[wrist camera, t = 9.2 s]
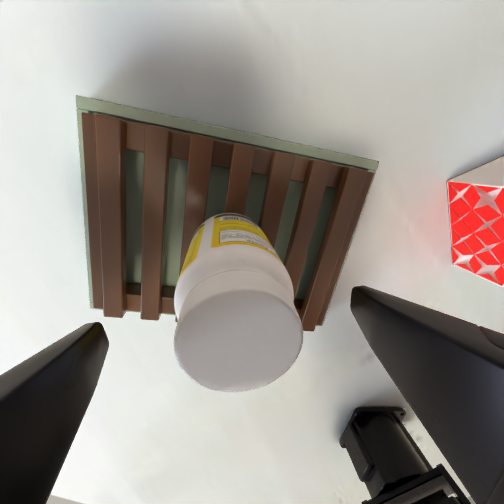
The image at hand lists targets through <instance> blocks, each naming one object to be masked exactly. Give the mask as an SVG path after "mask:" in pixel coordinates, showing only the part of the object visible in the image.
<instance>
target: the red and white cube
mask: <svg viewBox="0 0 504 504" xmlns="http://www.w3.org/2000/svg"><path fill="white" fill-rule="evenodd" d="M447 188H448V201H449V214H450V228H451V241H452V256H453V265H455V266H457V267H459V268H461V269H464V270H466V271H468V272H470V273H472V274H475V275H477V276H479V277H481V278H483V279H485V280H488V281H490V282H492V283H494V284H496V285H499V286H501V287H503V288H504V156H503V157H501V158H498V159H496V160H494V161H492V162H489V163H487V164H485V165H483V166H480V167H478V168H476V169H473V170H471V171H469V172H467V173H464V174H462V175H460V176H458V177H455V178H453V179H451V180H449V181H447Z"/></svg>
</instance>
